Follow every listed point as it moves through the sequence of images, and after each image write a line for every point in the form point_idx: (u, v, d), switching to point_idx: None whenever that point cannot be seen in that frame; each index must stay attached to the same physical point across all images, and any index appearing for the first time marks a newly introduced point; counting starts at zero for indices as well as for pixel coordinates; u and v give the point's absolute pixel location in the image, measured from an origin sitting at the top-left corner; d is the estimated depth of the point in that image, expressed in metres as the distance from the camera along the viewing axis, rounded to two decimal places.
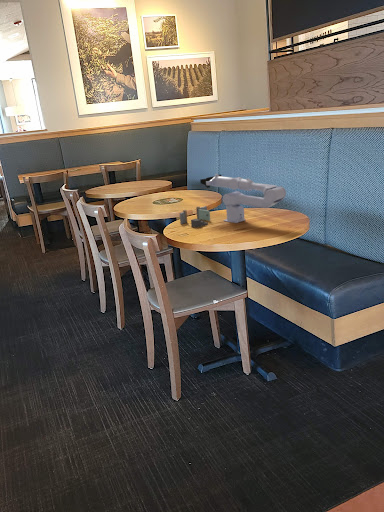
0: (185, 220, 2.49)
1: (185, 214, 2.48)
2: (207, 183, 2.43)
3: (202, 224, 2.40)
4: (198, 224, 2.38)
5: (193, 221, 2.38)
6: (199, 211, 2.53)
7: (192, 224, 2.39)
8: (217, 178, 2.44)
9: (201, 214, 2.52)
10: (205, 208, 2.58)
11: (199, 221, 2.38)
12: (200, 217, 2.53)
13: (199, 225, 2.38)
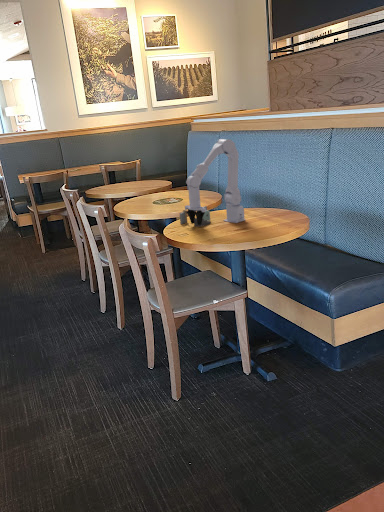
0: (185, 220, 2.49)
1: (185, 214, 2.48)
2: (204, 210, 2.32)
3: (205, 223, 2.41)
4: None
5: (196, 220, 2.39)
6: None
7: (195, 223, 2.40)
8: (194, 204, 2.33)
9: None
10: None
11: (202, 220, 2.39)
12: None
13: (202, 224, 2.39)
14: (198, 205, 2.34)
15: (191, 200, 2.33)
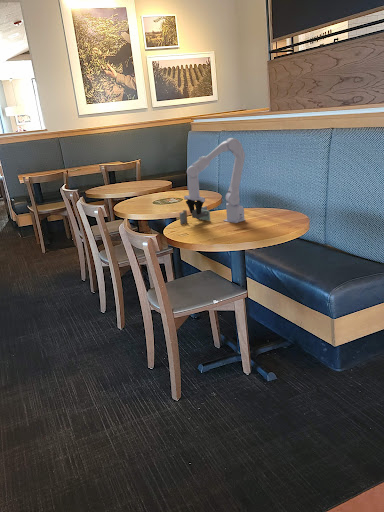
0: (185, 220, 2.49)
1: (185, 214, 2.48)
2: (203, 199, 2.36)
3: (202, 214, 2.44)
4: (199, 214, 2.42)
5: (194, 211, 2.43)
6: None
7: (193, 214, 2.44)
8: (193, 194, 2.37)
9: None
10: (205, 208, 2.58)
11: None
12: None
13: (200, 215, 2.43)
14: (197, 195, 2.38)
15: (190, 190, 2.37)
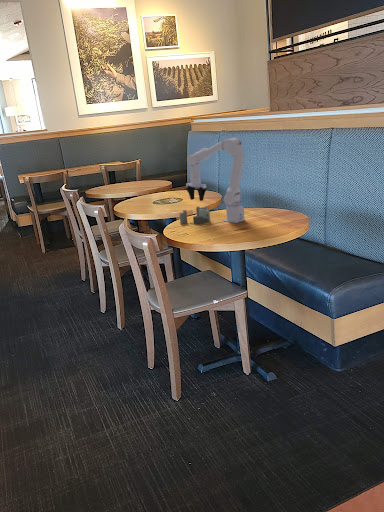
0: (185, 220, 2.49)
1: (185, 214, 2.48)
2: (204, 186, 2.48)
3: (204, 221, 2.46)
4: (200, 221, 2.44)
5: (195, 218, 2.45)
6: (199, 211, 2.53)
7: (194, 221, 2.46)
8: (195, 181, 2.50)
9: (201, 214, 2.52)
10: (205, 208, 2.58)
11: (201, 218, 2.44)
12: None
13: (201, 222, 2.45)
14: (198, 182, 2.51)
15: (192, 177, 2.50)
